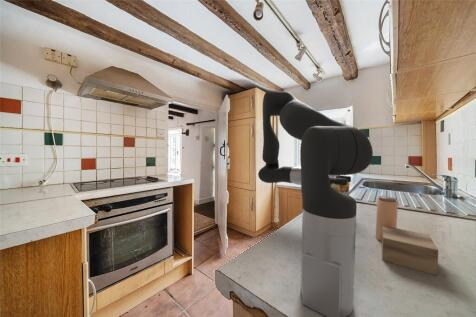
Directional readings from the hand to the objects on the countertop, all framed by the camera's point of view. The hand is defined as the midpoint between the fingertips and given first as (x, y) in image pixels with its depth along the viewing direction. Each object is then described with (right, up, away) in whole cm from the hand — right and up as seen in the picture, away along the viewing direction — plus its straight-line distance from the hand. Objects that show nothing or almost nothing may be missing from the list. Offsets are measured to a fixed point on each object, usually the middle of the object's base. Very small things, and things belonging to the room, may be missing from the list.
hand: (349, 180), depth 66 cm
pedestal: (+5, -19, -16) cm, 25 cm away
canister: (+8, -19, -6) cm, 21 cm away
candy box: (+5, -18, +17) cm, 25 cm away
